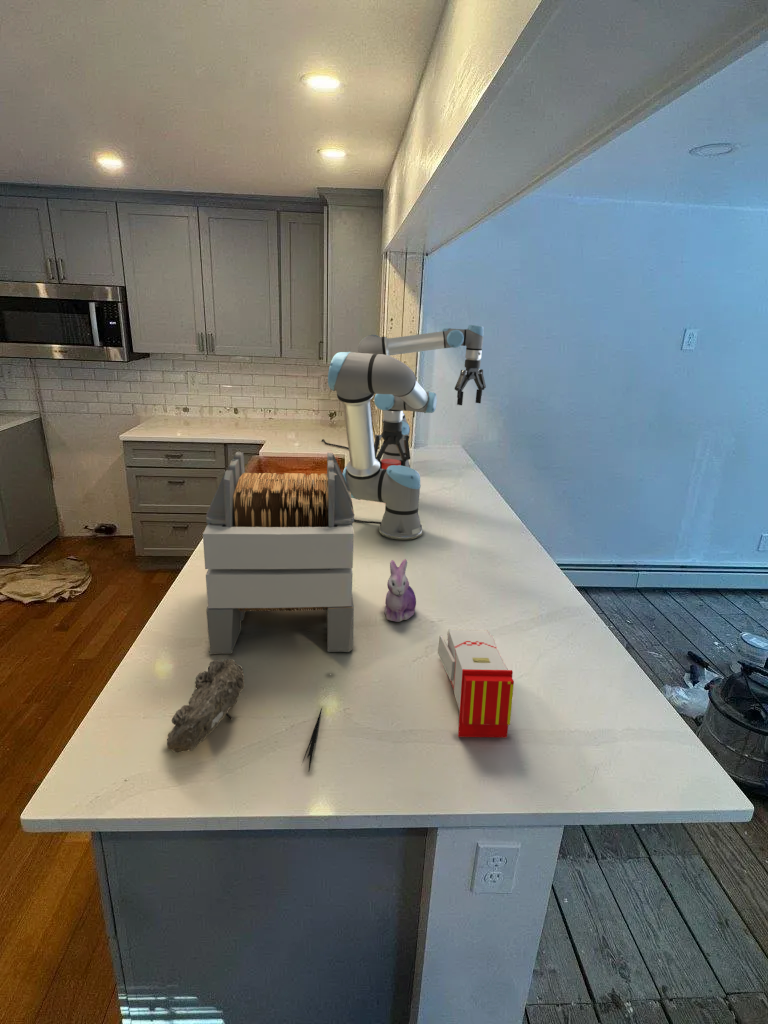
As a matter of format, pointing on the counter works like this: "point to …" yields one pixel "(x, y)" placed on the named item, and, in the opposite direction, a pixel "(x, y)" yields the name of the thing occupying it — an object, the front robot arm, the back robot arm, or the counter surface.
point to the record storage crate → (279, 550)
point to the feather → (313, 740)
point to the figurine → (399, 594)
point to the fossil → (206, 705)
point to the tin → (389, 463)
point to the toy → (478, 682)
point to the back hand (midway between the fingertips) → (468, 404)
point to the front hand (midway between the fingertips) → (389, 476)
